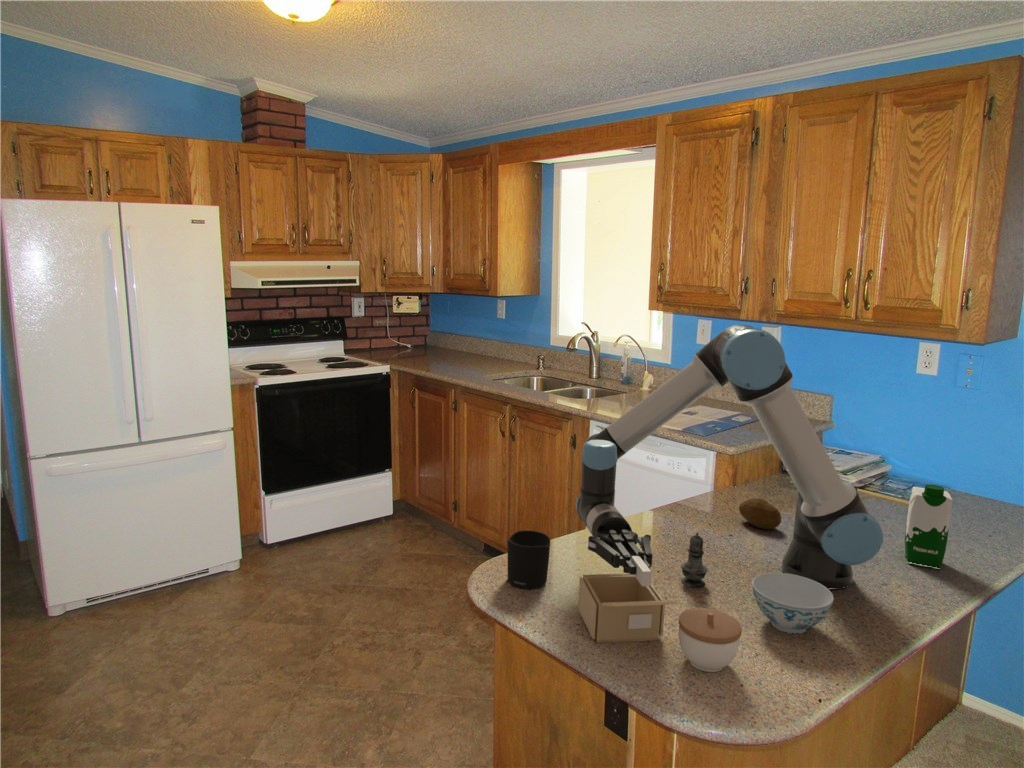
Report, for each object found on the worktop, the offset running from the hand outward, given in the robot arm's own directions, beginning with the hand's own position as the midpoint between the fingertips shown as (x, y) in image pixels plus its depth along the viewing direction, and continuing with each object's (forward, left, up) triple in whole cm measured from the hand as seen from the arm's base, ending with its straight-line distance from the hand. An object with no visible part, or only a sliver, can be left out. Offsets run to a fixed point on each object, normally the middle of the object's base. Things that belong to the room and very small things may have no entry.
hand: (646, 578), depth 118 cm
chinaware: (-24, -27, -16) cm, 40 cm away
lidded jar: (-11, -6, -16) cm, 20 cm away
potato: (-16, -83, -16) cm, 86 cm away
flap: (+4, -7, -8) cm, 11 cm away
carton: (+7, -12, -16) cm, 21 cm away
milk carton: (-55, -76, -16) cm, 95 cm away
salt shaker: (-4, -38, -16) cm, 41 cm away
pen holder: (+30, -22, -16) cm, 40 cm away
